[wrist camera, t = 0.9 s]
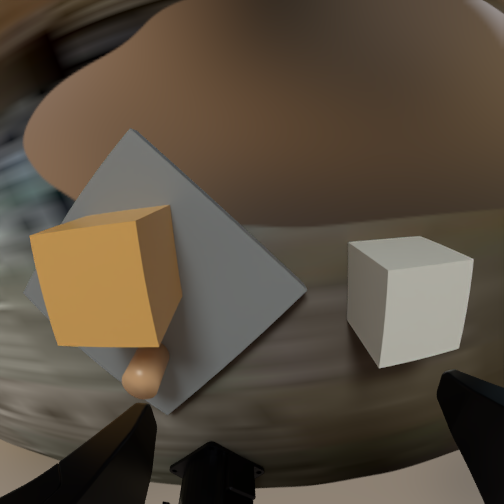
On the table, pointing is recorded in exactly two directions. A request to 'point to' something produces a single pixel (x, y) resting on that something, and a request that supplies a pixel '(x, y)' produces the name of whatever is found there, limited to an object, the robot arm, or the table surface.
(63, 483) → the robot arm
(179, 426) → the table surface
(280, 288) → the plate
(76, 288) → the matte amber box
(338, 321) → the table surface
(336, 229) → the table surface
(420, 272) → the matte ivory cube
